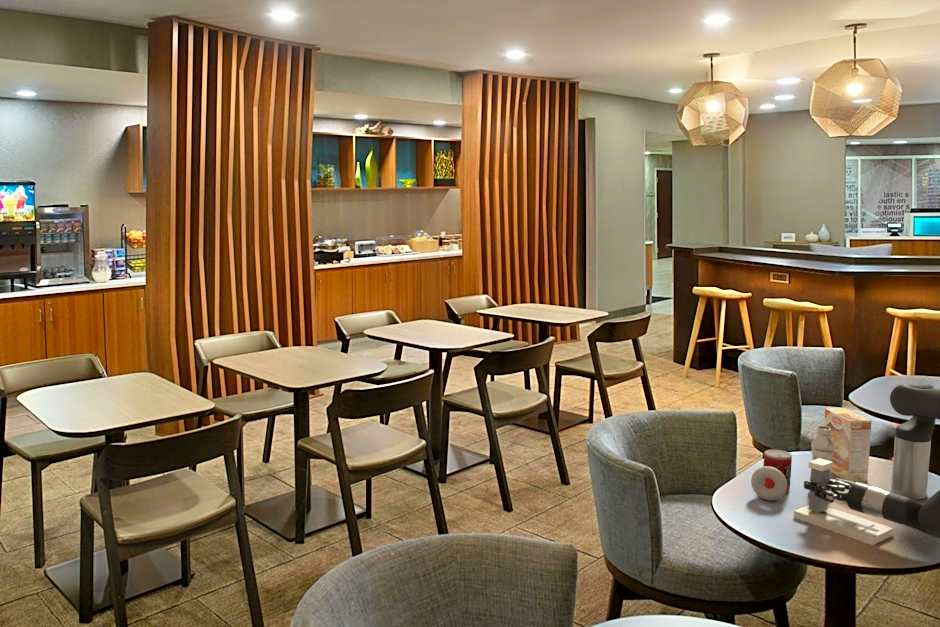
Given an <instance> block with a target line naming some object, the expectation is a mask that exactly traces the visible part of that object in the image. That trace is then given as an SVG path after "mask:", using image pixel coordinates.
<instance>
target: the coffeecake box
mask: <svg viewBox="0 0 940 627" xmlns="http://www.w3.org/2000/svg"><path fill="white" fill-rule="evenodd" d="M824 410H825V411H824V423H823V424H824V425H823V426H826V427H829V428H831V435H830V438H831V439H832V440H833V442H834V445H835V450H834V454H833V458H832V462H833V468H831V474H834V475H835V474H836V476H837V477H839V479H843V480H848V481H853V482H854V481H856V482H868V479H869V463H870V451H871V450H870V449H871V438H872V437H871V434H872V424H873V423H872V420H871V419H869V418H866V417H864V416H863V415H860V414H859V413H856V412H854V411H852V410H849V409H847V408H845V407H839V408H838V407H834V408H833V407H829V408H825V409H824Z"/></svg>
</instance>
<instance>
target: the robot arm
mask: <svg viewBox="0 0 940 627" xmlns="http://www.w3.org/2000/svg"><path fill="white" fill-rule="evenodd" d="M889 402H890V405H891V407H892V409H893V410H894V411H895V413H896V412H897V413H898V415H901V416H906V417H909V416H910V417H911V418H910V419H909V420H907V421H905V422H903V423H901V424H898V425H897V426H896V428H895V431H894V432H895V434H894V446H893V447H894V448H893V461H892V472H891V485H890V487H891V489H890V491H889V490H887V489H884V488H881V487H878V486H874V485H871V484H868V483H863V482H862V481H856V482H853V481H848V480H844V479H842V478H840V477H839V478H835V479H834V478H831V479H830V480H829V484H827V485H821V484H817V483H814V482H810V481H809V480H807V479H806V480H805V481H803V488H804V490H808V491H810V490H811V491H814V492H815V496H816V497H819V498H821V499H823V500H826V501H828V503H831V504H832V503H834V502H835V500H836V501H838V502H846V505H847V506H848V508H849V509H850V510H851V511H855V512H858V513H861V514H863V515H867V516H869V517H870V516H871V517H873V518H877V519H881V520H886V521H889V522H893V523H896V524H898V525H899V524H900V525H903V526H906V527H909V528H911V529H914V530H917V531H919V532H921V533H924V534H927V535H929V536H931V537H933V538H934V537H935V538H938V539H940V489H939V490H938V491H936V492H935V493H934V494H933V495H932V496H930V497H929V498H928V499H927V500H926V501H925V502H924V503H920V502H917V501H916V500H924V499H926V498H927V491H928V483H929V481H928V480H929V478H928V477H929V470H930V469H929V467H930V456H931V446H932V445H931V443H932V435H933V433H934V432H935V431H934V430H935V424H936V420H939V421H940V387H938V388H935V387H934V386H932V385H931V384H929V383H902V384H899V385H897V386H895V387H894V388H893V389H892V390H891V392H890V395H889ZM823 488H825V489H823ZM829 488H830V489H831V491H829Z"/></svg>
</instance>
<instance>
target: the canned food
mask: <svg viewBox="0 0 940 627" xmlns="http://www.w3.org/2000/svg"><path fill="white" fill-rule="evenodd" d="M792 458H793V456H792V454H791V453H790V452H789V451H785V450H781V449H767V450H765V451H764V454H763V467H764V466H770V467H774V468H776V469H778V470H779V471H781V472H782V474H783V475H784V476H785V478H786V481H787V489H786V492H785V493H788V492H789V491H790V488H791V480H792V479H791V478H792V477H791V475H792V461H793V460H792ZM763 484H764V486H765V487H766V488H769V489H772V488H774V486H775V483H774V481H773V480H772V479H770V478H765V479H764V480H763Z"/></svg>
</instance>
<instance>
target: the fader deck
mask: <svg viewBox="0 0 940 627" xmlns="http://www.w3.org/2000/svg"><path fill="white" fill-rule="evenodd" d="M796 518H797V520H799V519H800V520H799V521H802V522H804V521H806V522H805V523H807V522H809V523H808V524H810V523H812V524H811V525H813V524H815V525H814V526H816V525H818V526H817V527H819V526H821V527H820V528H822V527H823V528H822V529H824V528H826V529H825V530H827V529H830V530H832V531H831V532H833V531H835V532H834V533H836V532H837V534H839V533H840V534H839V535H842V536H845V537H848V538H851V539H854V540H856V541H859V542H861V543H865V544H868V545H870V546H874V545H876V544H878V543H880V542H883V541H885V540H887V539H889V538H891V537H893V536H894V527H890V526H887V525H885V524H881V523H879V522H875V521H872V520H869V519H866V518H863V517H860V516H857V515H853V514H850V513H848V512H844V511H841V510H839V509H835V508H833V507H829V506H827V510H825V511H823V512H821V513H817V512H814V511H811V510H809V504H807V505H806V506H802V507H799V508H798V509H795V510H794V511H793V519H796ZM830 530H829V531H830Z"/></svg>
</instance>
